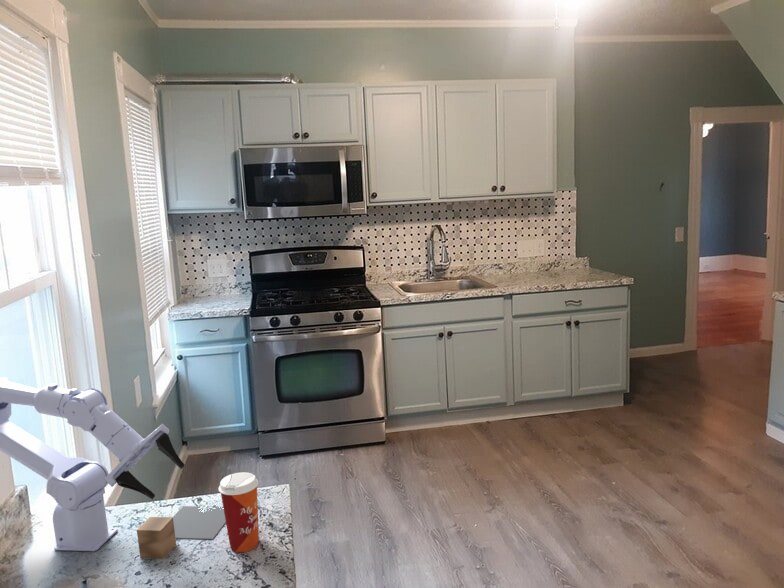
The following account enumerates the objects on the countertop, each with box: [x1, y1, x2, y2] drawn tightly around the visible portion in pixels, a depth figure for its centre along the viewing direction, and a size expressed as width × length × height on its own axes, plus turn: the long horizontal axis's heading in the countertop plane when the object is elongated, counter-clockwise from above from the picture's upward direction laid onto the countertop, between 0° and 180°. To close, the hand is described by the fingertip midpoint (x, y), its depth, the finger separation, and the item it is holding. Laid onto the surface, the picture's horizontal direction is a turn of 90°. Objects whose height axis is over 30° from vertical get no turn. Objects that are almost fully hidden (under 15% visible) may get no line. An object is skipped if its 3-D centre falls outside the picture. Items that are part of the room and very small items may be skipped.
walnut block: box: [136, 516, 177, 560], centre depth 123 cm, size 5×5×6 cm
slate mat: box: [172, 505, 226, 540], centre depth 133 cm, size 13×13×1 cm
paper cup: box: [218, 471, 260, 553], centre depth 122 cm, size 8×8×14 cm
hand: (168, 481), depth 122 cm, fingers open, 7 cm apart
